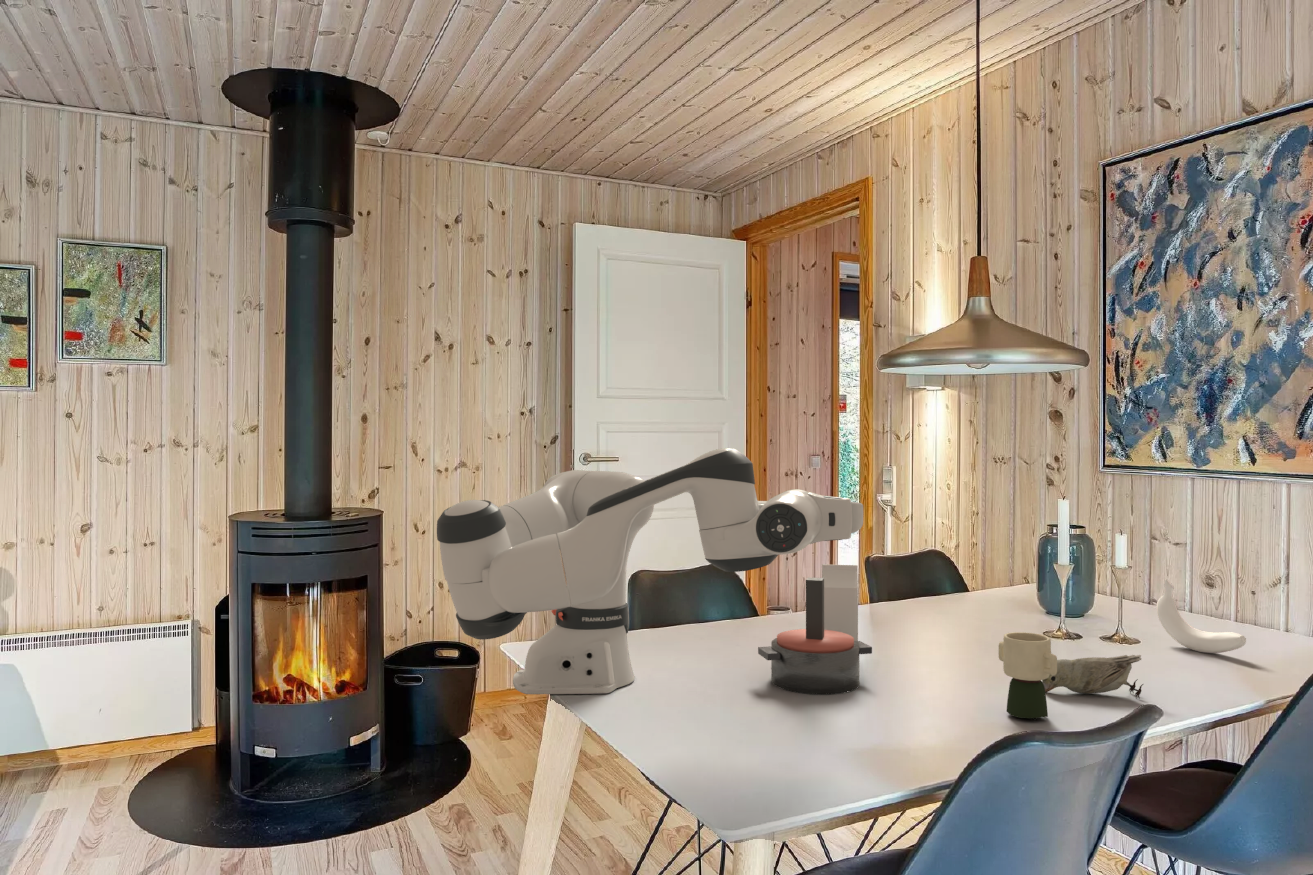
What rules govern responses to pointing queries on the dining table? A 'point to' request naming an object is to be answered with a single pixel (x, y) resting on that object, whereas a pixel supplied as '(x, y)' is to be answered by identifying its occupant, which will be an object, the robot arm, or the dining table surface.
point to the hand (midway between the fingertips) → (806, 510)
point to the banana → (1193, 629)
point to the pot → (815, 669)
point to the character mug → (1027, 672)
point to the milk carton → (841, 598)
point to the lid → (815, 627)
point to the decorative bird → (1093, 674)
